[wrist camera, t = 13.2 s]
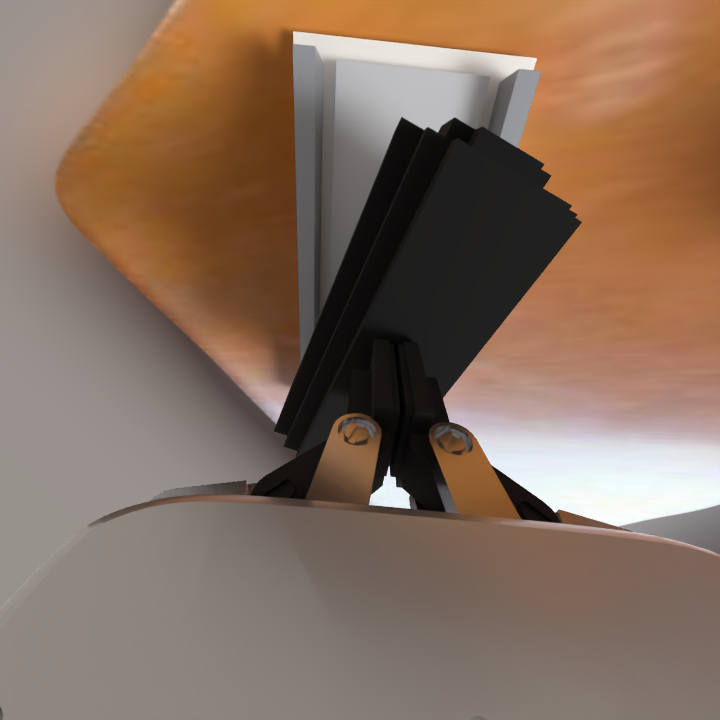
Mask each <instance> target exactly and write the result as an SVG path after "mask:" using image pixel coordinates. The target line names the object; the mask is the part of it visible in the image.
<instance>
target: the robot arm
mask: <svg viewBox="0 0 720 720" xmlns="http://www.w3.org/2000/svg"><path fill="white" fill-rule="evenodd" d="M389 461H390V475H391V477H396V487H401V488H403V489H404V490H405V491H406V492H407V493H409V494H410V497H409V501H410V507H411V509H405V508H394V507H383V506H372V505H369V501H370V496H371V494H373V493H374V492H375V491H376V490H378V489H379V488H380V487H381V486H382V485H383V480H384V476H386V475H387V471H388V466H389ZM0 720H720V555H719V554H717V553H715V552H712V551H709V550H706V549H703V548H699V547H696V546H693V545H690V544H686V543H683V542H680V541H676V540H671V539H667V538H662V537H657V536H653V535H647V534H641V533H635V532H632V531H630V530H626V529H623V528H619V527H616V526H613V525H609V524H606V523H603V522H599V521H596V520H593V519H589V518H586V517H583V516H579V515H576V514H572V513H569V512H566V511H562V510H558V511H557V512H556V513H555V512H554V511H553V510H552V509H551V508H550V507H549V506H548V505H546V504H545V503H544V502H543V501H541V500H540V499H539V498H537V497H536V496H534V495H533V494H532V493H530V492H529V491H527V490H526V489H524V488H523V487H522V486H520V485H519V484H517V483H516V482H515V481H513V480H512V479H510V478H509V477H507V476H506V475H505V474H503V473H502V472H500V471H499V470H498V469H496V468H495V467H493V466H492V465H491V464H490V462H489V461H488V459H487V457H486V455H485V454H484V452H483V450H482V448H481V446H480V445H479V443H478V441H477V439H476V438H475V437H474V435H473V434H472V433H471V432H470V431H469V430H467V429H466V428H464V427H462V426H460V425H458V424H455V423H451V422H449V419H448V415H447V412H446V408H445V405H444V402H443V398H442V395H441V391H440V388H439V385H438V381H437V379H436V378H435V377H427V376H426V374H425V370H424V366H423V362H422V358H421V354H420V350H419V346H418V343H413V342H403V343H402V345H397V348H396V354H395V352H394V344H389V340H383V339H374V345H373V353H372V360H371V368H370V371H366V370H356V369H352V375H351V384H350V393H349V401H348V410H347V414H346V415H344V416H341V417H340V418H339V419H337V420H336V422H335V423H334V425H333V427H332V430H331V432H330V435H329V438H328V439H327V440H325V441H324V442H322V443H320V444H319V445H317V446H315V447H313V448H312V449H310V450H308V451H307V452H305V453H303V454H302V455H300V456H298V457H296V458H295V459H293V460H291V461H290V462H288V463H286V464H285V465H283V466H281V467H280V468H278V469H276V470H274V471H273V472H271V473H269V474H268V475H266V476H265V477H263V478H262V479H261V480H260V481H259V482H258V483H252V484H247V480H244V481H236V482H227V483H218V484H210V485H201V486H192V487H184V488H176V489H171V490H167V491H164V492H162V493H160V494H159V495H157V496H155V497H153V498H152V499H151V500H150V501H149V502H144V503H141V504H137V505H133V506H130V507H127V508H124V509H121V510H118V511H116V512H113V513H110V514H108V515H106V516H103V517H101V518H100V519H98V520H96V521H94V522H92V523H90V524H89V525H87V526H86V527H84V528H83V529H81V530H80V531H79V532H77V533H76V534H75V535H73V536H72V537H71V538H70V539H68V540H67V541H66V542H65V543H64V544H62V545H61V546H60V547H59V548H58V549H57V550H56V551H55V552H54V553H53V554H52V555H51V556H50V557H49V558H48V559H47V560H46V561H45V562H44V563H43V564H42V565H41V566H40V567H39V568H38V569H37V570H36V571H35V572H34V573H33V574H32V575H31V576H30V577H29V578H28V579H27V580H26V581H25V582H24V583H23V584H22V585H21V587H20V588H19V589H18V590H17V591H16V592H15V593H14V594H13V595H12V597H10V599H9V600H8V601H7V602H6V603H5V604H4V605H3V606H2V607H1V608H0Z"/></svg>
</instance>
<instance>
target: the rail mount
mask: <svg viewBox="0 0 720 720" xmlns="http://www.w3.org/2000/svg"><path fill="white" fill-rule="evenodd" d="M293 43H294V44H293V81H294V122H295V164H296V205H297V246H298V287H299V329H300V364H301V361H302V359H303V356H304V354H305V351H306V349H307V346H308V344H309V341H310V339H311V336H312V334H313V332H314V329H315V327H316V324H317V322H318V319H319V317H320V314H321V312H322V309H323V307H324V304H325V302H326V299H327V297H328V294H329V292H330V290H331V287H332V285H333V282H334V280H335V277H336V275H337V272H338V270H339V267H340V265H341V262H342V260H343V257H344V255H345V252H346V250H347V248H348V245H349V243H350V240H351V238H352V235H353V233H354V230H355V228H356V225H357V223H358V220H359V218H360V215H361V213H362V210H363V208H364V206H365V203H366V201H367V198H368V196H369V193H370V191H371V188H372V186H373V183H374V181H375V178H376V176H377V173H378V171H379V168H380V166H381V164H382V161H383V159H384V156H385V154H386V151H387V149H388V146H389V144H390V141H391V139H392V136H393V134H394V131H395V129H396V127H397V125H398V123H399V121H400V119H401V117H403V118H405V119H406V120H408V121H410V122H411V123H413V124H415V125H417V126H418V127H420V128H422V129H423V130H425V129H426V128H427V127H429V128H431V129H433V130H434V131H436V132H439V130H440V128H441V126H442V125H444V124H445V123H447V122H448V121H450V120H451V119H453V118H454V117H455V118H457V119H459V120H460V121H462V122H464V123H465V124H467V125H469V126H470V127H472V128H474V129H478V128H480V127H484V128H486V129H488V130H489V131H491V132H492V133H494V134H496V135H497V136H499V137H501V138H502V139H504V140H506V141H507V142H509V143H510V144H512V145H514V146H515V147H517V148H518V146H519V143H520V139H521V136H522V133H523V130H524V126H525V123H526V120H527V117H528V113H529V110H530V107H531V104H532V100H533V97H534V94H535V91H536V87H537V84H538V81H539V78H540V74H541V71H535V70H534V67H535V63H536V60H537V58H529V57H520V56H511V55H502V54H493V53H484V52H475V51H466V50H457V49H448V48H439V47H430V46H421V45H412V44H403V43H394V42H385V41H376V40H367V39H358V38H349V37H340V36H331V35H322V34H313V33H304V32H295V31H293Z"/></svg>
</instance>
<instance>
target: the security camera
mask: <svg viewBox="0 0 720 720" xmlns="http://www.w3.org/2000/svg"><path fill="white" fill-rule="evenodd" d="M543 165H544V164H543V163H541V162H540V161H538V160H537V159H535V158H533V157H532V156H530V155H528V154H527V153H525V152H523V151H522V150H520V149H519V148H517V147H515V146H514V145H512V144H510V143H509V142H507V141H506V140H504V139H502V138H501V137H499V136H497V135H496V134H494V133H492V132H491V131H489V130H488V129H486V128H484V127H480V128H478V129H474V128H472V127H470V126H469V125H467V124H465V123H464V122H462V121H460V120H459V119H457V118H455V117H454V118H453V119H451V120H450V121H448V122H447V123H445V124H444V125H442V126H441V128H440V130H439V132H436V131H434V130H433V129H431V128H429V127H427V128H426V129H425V130H423V129H422V128H420V127H418V126H417V125H415V124H413V123H411V122H410V121H408V120H406V119H405V118H403V117H401V119H400V121H399V123H398V125H397V127H396V129H395V131H394V134H393V136H392V139H391V141H390V144H389V146H388V149H387V151H386V154H385V156H384V159H383V161H382V164H381V166H380V168H379V171H378V173H377V176H376V178H375V181H374V183H373V186H372V188H371V191H370V193H369V196H368V198H367V201H366V203H365V206H364V208H363V210H362V213H361V215H360V218H359V220H358V223H357V225H356V228H355V230H354V233H353V235H352V238H351V240H350V243H349V245H348V248H347V250H346V252H345V255H344V257H343V260H342V262H341V265H340V267H339V270H338V272H337V275H336V277H335V280H334V282H333V285H332V287H331V290H330V292H329V294H328V297H327V299H326V302H325V304H324V307H323V309H322V312H321V314H320V317H319V319H318V322H317V324H316V327H315V329H314V332H313V334H312V336H311V339H310V341H309V344H308V346H307V349H306V351H305V354H304V356H303V359H302V361H301V364H300V366H299V369H298V371H297V374H296V376H295V378H294V381H293V383H292V386H291V388H290V391H289V393H288V396H287V399H286V401H285V404H284V406H283V409H282V411H281V414H280V417H279V419H278V422H277V424H276V427H275V429H274V431H275V432H278V433H281V434H284V435H287V438H286V441H285V444H284V447H287V448H290V449H293V450H296V451H297V454H296V457H298V456H300V455H302V454H303V453H305V452H307V451H308V450H310V449H312V448H313V447H315V446H317V445H319V444H320V443H322V442H324V441H325V440H327V439H328V438H329V435H330V432H331V430H332V427H333V425H334V423H335V422H336V420H337V419H339V418H340V417H341V416H344V415H346V414H347V410H348V401H349V393H350V384H351V375H352V369H356V370H366V371H370V368H371V360H372V353H373V345H374V339H383V340H389V344H394V352H395V354H396V348H397V345H402V343H403V342H413V343H418V346H419V350H420V354H421V358H422V362H423V366H424V370H425V374H426V376H427V377H435V378H436V379H437V381H438V385H439V388H440V391H441V395H442V398H443V397H444V396H445V395H446V394H447V392H448V391H449V390H450V388H451V387H452V386H453V385H454V383H455V382H456V381H457V380H458V378H459V377H460V376H461V375H462V373H463V372H464V371H465V369H466V368H467V367H468V366H469V364H470V363H471V362H472V361H473V359H474V358H475V357H476V356H477V354H478V353H479V352H480V350H481V349H482V348H483V347H484V345H485V344H486V343H487V342H488V340H489V339H490V338H491V337H492V335H493V334H494V333H495V332H496V330H497V329H498V328H499V326H500V325H501V324H502V323H503V321H504V320H505V319H506V318H507V316H508V315H509V314H510V313H511V311H512V310H513V309H514V307H515V306H516V305H517V304H518V302H519V301H520V300H521V299H522V297H523V296H524V295H525V294H526V292H527V291H528V290H529V289H530V287H531V286H532V285H533V283H534V282H535V281H536V280H537V278H538V277H539V276H540V275H541V273H542V272H543V271H544V270H545V268H546V267H547V266H548V264H549V263H550V262H551V261H552V259H553V258H554V257H555V256H556V254H557V253H558V252H559V251H560V249H561V248H562V247H563V245H564V244H565V243H566V242H567V240H568V239H569V238H570V237H571V235H572V234H573V233H574V232H575V230H576V229H577V228H578V227H579V225H580V224H581V223H582V222H581V221H579V220H578V219H576V218H575V217H576V216H577V214H576V213H574V212H572V211H570V210H569V209H570V208H571V206H572V205H570V204H568V203H567V202H565V201H563V200H562V199H560V198H558V197H556V196H555V195H553V194H551V193H550V192H548V191H546V190H545V189H543V187H544V186H545V184H546V183H547V182H548V180H549V179H550V177H551V175H549V174H548V173H546V172H545V171H543V170H541V168H542V167H543ZM389 466H390V461H389ZM389 466H388V467H389Z"/></svg>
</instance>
